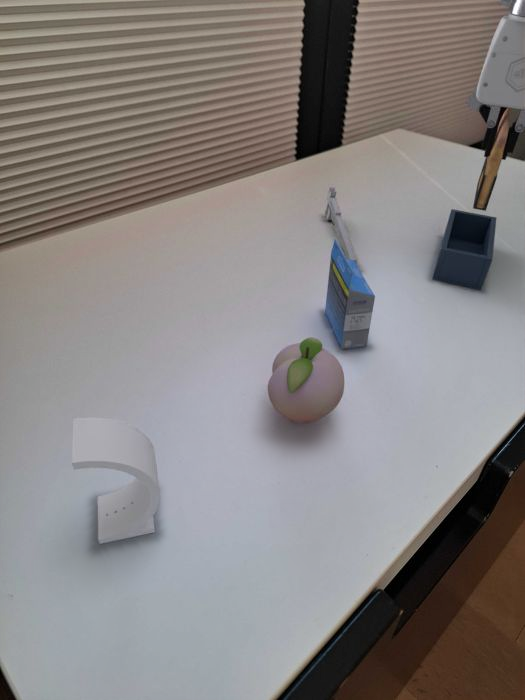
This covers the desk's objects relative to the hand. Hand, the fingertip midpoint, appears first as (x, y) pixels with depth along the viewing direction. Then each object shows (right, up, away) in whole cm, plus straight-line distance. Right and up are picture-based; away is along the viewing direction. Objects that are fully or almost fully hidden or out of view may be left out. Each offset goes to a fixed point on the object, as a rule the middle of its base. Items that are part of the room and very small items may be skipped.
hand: (495, 154), depth 75 cm
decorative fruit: (-30, -37, -16) cm, 50 cm away
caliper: (-21, -10, +16) cm, 28 cm away
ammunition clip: (0, -5, +4) cm, 7 cm away
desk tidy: (-1, -14, +12) cm, 18 cm away
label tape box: (-23, -26, -3) cm, 35 cm away
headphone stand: (-47, -45, -27) cm, 70 cm away
